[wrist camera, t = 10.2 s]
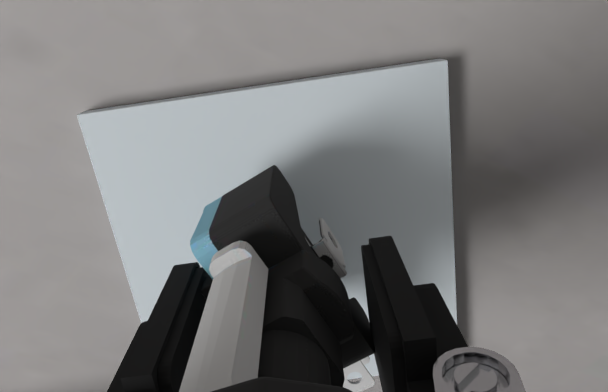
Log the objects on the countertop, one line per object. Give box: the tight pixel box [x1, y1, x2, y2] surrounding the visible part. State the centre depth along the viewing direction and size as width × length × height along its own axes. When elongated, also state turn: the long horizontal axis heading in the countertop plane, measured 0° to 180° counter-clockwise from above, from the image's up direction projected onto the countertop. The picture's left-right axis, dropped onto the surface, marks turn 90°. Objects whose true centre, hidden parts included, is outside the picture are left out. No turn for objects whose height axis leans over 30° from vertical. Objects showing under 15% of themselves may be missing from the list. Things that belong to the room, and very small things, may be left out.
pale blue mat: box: [77, 58, 457, 380], centre depth 15 cm, size 10×10×1 cm
